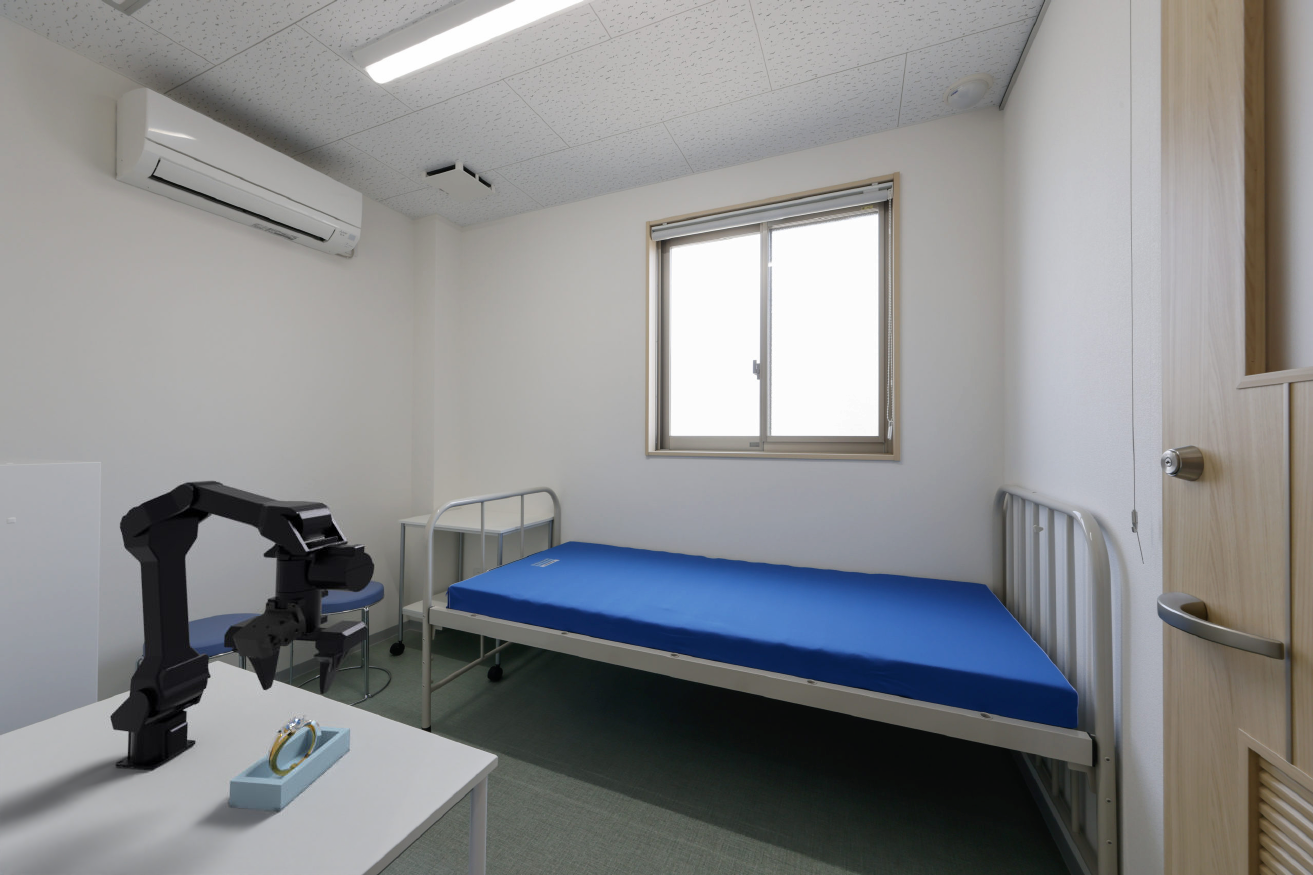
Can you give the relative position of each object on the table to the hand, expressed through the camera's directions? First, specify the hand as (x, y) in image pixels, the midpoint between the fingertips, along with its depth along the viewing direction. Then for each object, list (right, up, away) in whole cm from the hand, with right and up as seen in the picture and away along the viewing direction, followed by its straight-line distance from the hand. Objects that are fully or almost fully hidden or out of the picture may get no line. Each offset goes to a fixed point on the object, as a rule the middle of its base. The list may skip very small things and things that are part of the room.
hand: (295, 690), depth 72 cm
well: (0, -12, -1) cm, 12 cm away
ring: (0, -12, -1) cm, 12 cm away
